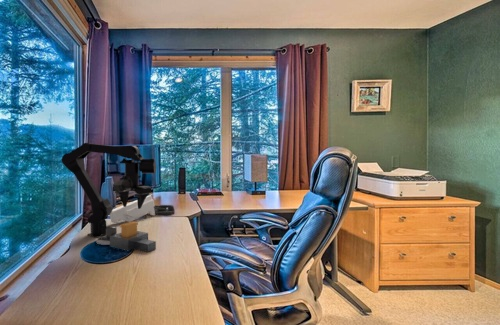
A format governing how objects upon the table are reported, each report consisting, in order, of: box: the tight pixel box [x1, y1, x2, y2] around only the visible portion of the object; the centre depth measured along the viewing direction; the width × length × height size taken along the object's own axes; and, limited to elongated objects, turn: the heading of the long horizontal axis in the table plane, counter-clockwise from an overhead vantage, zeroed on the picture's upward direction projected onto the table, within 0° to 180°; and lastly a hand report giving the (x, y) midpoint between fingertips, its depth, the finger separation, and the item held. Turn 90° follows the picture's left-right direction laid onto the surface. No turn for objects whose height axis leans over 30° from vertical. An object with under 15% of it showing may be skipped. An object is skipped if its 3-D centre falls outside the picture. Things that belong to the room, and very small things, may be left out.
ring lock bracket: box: [95, 225, 157, 253], centre depth 114 cm, size 28×11×6 cm, turn 64°
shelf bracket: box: [109, 194, 156, 224], centre depth 154 cm, size 6×25×13 cm, turn 148°
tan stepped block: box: [119, 220, 139, 237], centre depth 113 cm, size 3×6×9 cm, turn 154°
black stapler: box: [148, 204, 176, 217], centre depth 169 cm, size 9×7×25 cm
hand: (132, 207), depth 129 cm, fingers open, 9 cm apart
